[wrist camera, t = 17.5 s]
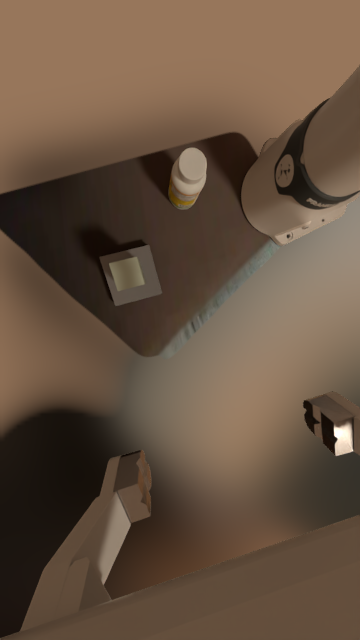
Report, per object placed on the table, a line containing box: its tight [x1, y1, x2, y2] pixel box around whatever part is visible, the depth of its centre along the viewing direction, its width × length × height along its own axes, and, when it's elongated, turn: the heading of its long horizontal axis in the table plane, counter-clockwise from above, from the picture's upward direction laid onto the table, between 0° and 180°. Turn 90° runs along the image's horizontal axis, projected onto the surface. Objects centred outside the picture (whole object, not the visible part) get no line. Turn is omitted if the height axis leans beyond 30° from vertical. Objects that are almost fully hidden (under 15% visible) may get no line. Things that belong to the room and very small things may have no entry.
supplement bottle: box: [168, 148, 207, 209], centre depth 32 cm, size 5×5×10 cm
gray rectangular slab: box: [99, 245, 162, 306], centre depth 37 cm, size 9×9×2 cm
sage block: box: [109, 257, 146, 291], centre depth 32 cm, size 4×4×8 cm
